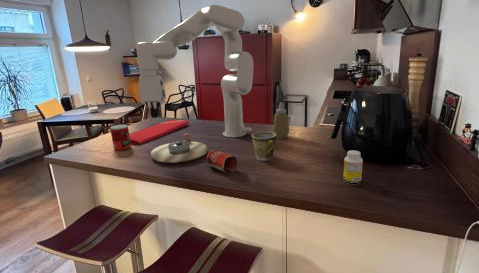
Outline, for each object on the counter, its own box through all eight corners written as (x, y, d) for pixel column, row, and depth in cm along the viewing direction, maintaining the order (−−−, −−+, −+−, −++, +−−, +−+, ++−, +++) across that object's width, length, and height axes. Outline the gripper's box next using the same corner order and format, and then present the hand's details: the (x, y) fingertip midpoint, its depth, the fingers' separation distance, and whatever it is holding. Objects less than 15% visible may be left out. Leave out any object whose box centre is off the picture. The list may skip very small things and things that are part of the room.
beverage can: (218, 162, 116) (217, 147, 114) (238, 170, 108) (237, 153, 106) (204, 167, 112) (202, 151, 110) (224, 176, 103) (223, 159, 101)
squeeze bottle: (271, 139, 143) (270, 103, 138) (275, 134, 150) (275, 100, 145) (287, 140, 140) (287, 104, 135) (290, 136, 147) (291, 101, 142)
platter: (213, 144, 135) (212, 133, 134) (197, 163, 112) (196, 150, 111) (165, 143, 139) (163, 133, 138) (141, 161, 116) (139, 149, 115)
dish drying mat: (117, 142, 149) (116, 136, 148) (170, 124, 184) (169, 118, 183) (139, 146, 142) (138, 139, 141) (190, 126, 177) (189, 120, 176)
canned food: (125, 151, 134) (121, 128, 131) (110, 150, 136) (106, 128, 132) (134, 146, 141) (131, 124, 138) (119, 145, 143) (116, 124, 140)
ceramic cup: (248, 156, 121) (247, 133, 118) (269, 152, 125) (268, 130, 122) (262, 166, 110) (262, 141, 107) (285, 162, 114) (285, 137, 111)
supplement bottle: (346, 176, 99) (348, 148, 96) (363, 180, 95) (365, 151, 93) (340, 182, 95) (342, 153, 92) (357, 186, 91) (360, 156, 88)
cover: (193, 148, 127) (192, 139, 126) (184, 155, 119) (183, 145, 117) (175, 146, 129) (174, 138, 128) (165, 153, 121) (163, 144, 120)
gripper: (170, 72, 120) (175, 115, 125) (137, 73, 123) (143, 115, 128) (162, 74, 113) (167, 119, 118) (128, 75, 116) (134, 119, 121)
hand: (155, 117), depth 123 cm, fingers closed
